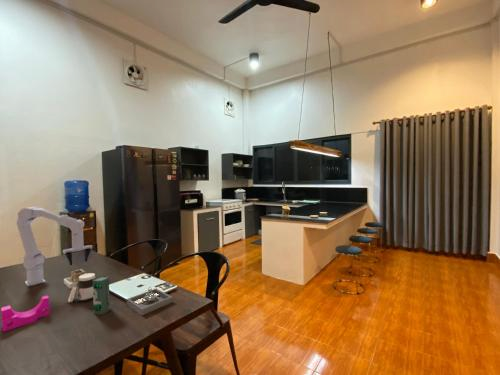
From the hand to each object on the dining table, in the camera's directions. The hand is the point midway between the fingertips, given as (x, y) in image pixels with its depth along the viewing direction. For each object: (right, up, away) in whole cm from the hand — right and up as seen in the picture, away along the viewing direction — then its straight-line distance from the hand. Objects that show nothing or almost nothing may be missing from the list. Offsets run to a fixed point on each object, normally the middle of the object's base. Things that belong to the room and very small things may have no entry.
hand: (78, 262), depth 151 cm
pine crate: (+4, -9, -5) cm, 11 cm away
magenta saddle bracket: (+8, -12, -44) cm, 46 cm away
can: (+36, -11, -37) cm, 52 cm away
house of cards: (+55, -11, -31) cm, 64 cm away
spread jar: (+19, -11, -25) cm, 34 cm away
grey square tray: (+55, -10, -31) cm, 64 cm away
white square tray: (+4, -10, -5) cm, 12 cm away
